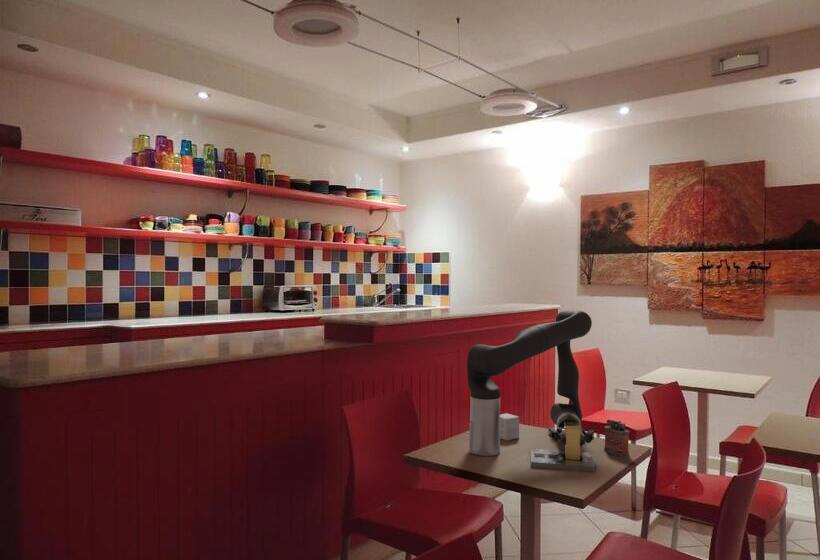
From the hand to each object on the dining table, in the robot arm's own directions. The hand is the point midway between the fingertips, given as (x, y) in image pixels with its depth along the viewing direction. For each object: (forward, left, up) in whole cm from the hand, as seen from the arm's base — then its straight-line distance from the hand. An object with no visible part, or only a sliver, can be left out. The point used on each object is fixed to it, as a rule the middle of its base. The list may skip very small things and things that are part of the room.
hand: (573, 442), depth 164 cm
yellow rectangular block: (0, +3, -6) cm, 7 cm away
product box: (-20, +26, -7) cm, 33 cm away
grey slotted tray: (-3, +3, -7) cm, 8 cm away
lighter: (+14, +16, -7) cm, 22 cm away
